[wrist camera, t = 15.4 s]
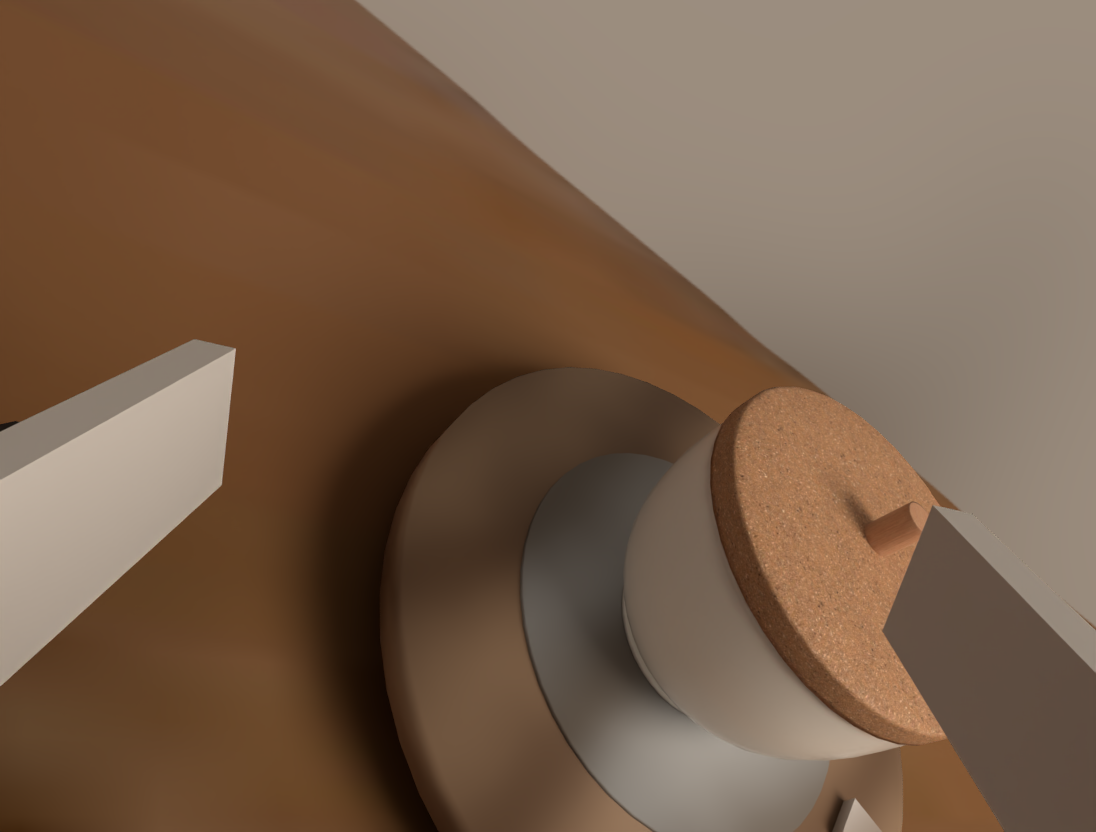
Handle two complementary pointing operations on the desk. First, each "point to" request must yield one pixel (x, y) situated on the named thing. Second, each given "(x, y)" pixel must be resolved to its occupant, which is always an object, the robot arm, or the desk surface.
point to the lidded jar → (781, 582)
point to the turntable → (567, 635)
